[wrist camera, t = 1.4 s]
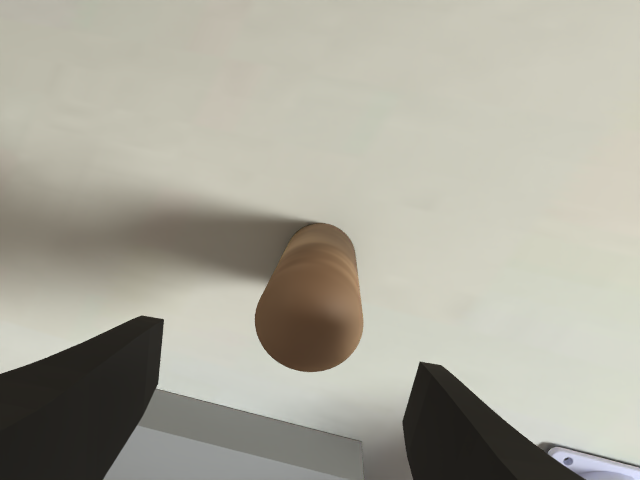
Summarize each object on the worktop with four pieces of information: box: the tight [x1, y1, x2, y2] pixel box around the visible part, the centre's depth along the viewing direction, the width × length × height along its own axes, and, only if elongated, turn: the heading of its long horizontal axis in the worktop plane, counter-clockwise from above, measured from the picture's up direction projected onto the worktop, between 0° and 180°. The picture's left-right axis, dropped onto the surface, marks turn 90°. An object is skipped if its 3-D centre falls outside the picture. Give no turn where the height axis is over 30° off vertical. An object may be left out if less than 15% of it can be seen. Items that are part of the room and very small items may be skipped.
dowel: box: [255, 223, 363, 372], centre depth 18 cm, size 4×4×8 cm
